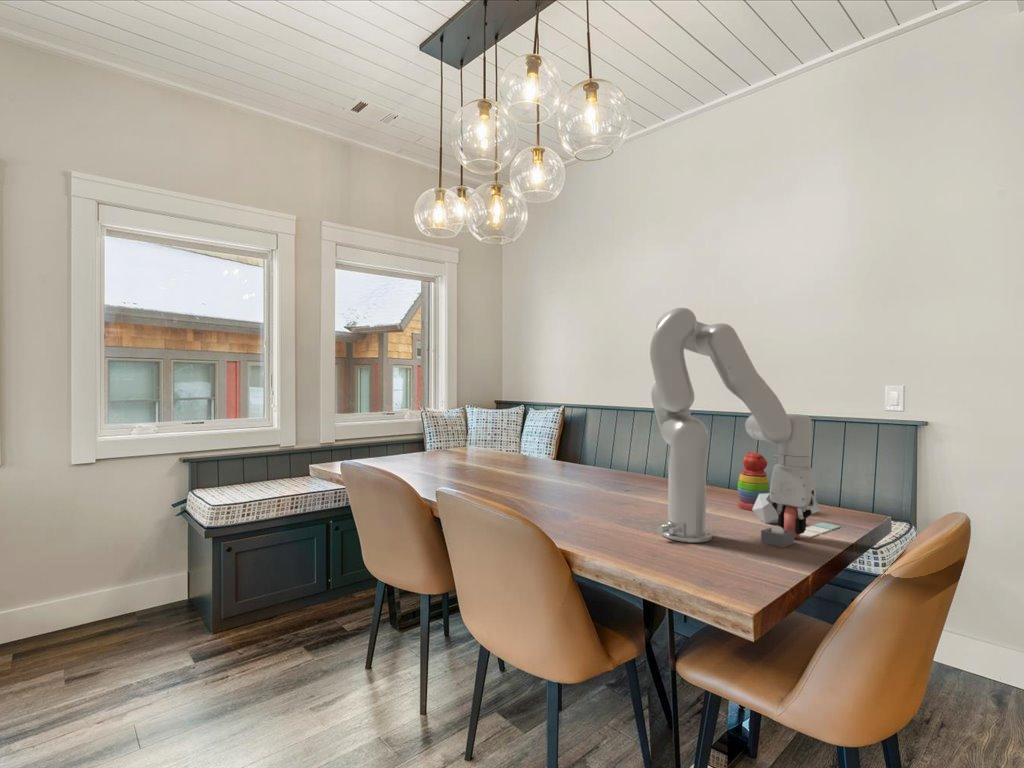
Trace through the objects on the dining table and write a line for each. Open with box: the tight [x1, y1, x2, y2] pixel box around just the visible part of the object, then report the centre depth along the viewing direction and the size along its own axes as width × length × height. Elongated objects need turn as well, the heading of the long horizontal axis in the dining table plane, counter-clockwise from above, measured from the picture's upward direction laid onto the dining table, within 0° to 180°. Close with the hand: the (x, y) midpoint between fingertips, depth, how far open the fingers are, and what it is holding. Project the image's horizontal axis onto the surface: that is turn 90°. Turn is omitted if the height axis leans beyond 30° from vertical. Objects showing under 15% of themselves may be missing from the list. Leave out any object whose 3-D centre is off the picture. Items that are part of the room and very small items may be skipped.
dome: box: [771, 525, 785, 534], centre depth 139 cm, size 3×3×4 cm
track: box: [800, 525, 831, 538], centre depth 149 cm, size 11×5×1 cm, turn 126°
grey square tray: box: [760, 526, 795, 549], centre depth 139 cm, size 6×6×3 cm
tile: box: [812, 521, 841, 531], centre depth 154 cm, size 5×5×1 cm
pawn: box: [784, 505, 801, 539], centre depth 143 cm, size 4×4×8 cm
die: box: [751, 492, 778, 525], centre depth 159 cm, size 8×9×10 cm
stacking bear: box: [737, 451, 770, 511], centre depth 175 cm, size 11×10×18 cm
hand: (791, 530), depth 143 cm, fingers closed on pawn, 3 cm apart
